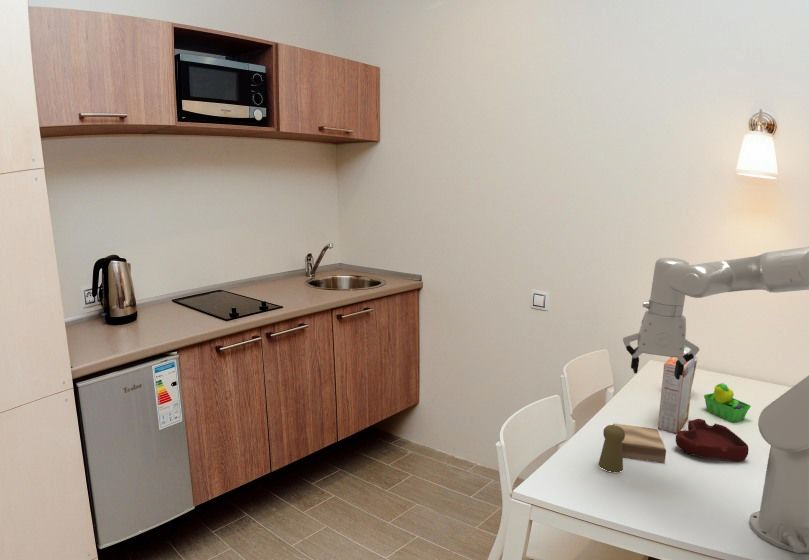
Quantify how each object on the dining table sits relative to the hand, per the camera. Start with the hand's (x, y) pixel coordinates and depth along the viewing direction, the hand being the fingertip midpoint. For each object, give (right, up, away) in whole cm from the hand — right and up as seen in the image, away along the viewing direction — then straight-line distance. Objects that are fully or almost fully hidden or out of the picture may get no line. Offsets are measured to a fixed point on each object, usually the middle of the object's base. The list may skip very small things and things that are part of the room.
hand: (655, 374), depth 135 cm
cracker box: (+19, -20, +30) cm, 41 cm away
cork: (-9, -25, +5) cm, 27 cm away
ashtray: (+22, -24, +14) cm, 36 cm away
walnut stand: (+1, -23, +14) cm, 27 cm away
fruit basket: (+38, -20, +36) cm, 56 cm away
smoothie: (+32, -16, +52) cm, 63 cm away
